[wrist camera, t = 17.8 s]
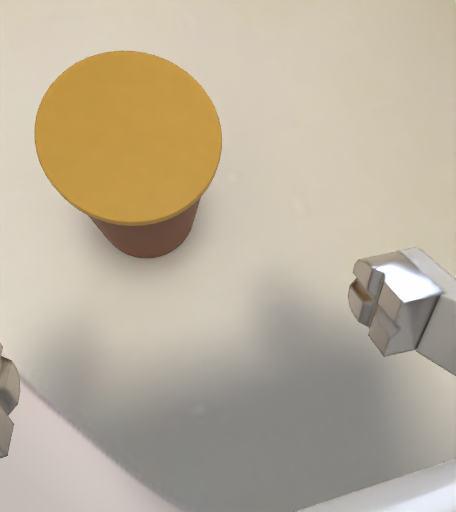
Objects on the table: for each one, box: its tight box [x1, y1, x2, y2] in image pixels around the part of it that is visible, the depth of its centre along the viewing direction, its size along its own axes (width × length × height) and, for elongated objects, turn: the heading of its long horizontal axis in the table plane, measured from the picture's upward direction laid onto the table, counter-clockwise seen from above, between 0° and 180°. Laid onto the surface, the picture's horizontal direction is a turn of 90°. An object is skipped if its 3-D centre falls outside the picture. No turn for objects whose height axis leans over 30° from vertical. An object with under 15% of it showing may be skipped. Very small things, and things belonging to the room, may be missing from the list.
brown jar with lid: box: [35, 51, 222, 258], centre depth 14 cm, size 5×5×8 cm
